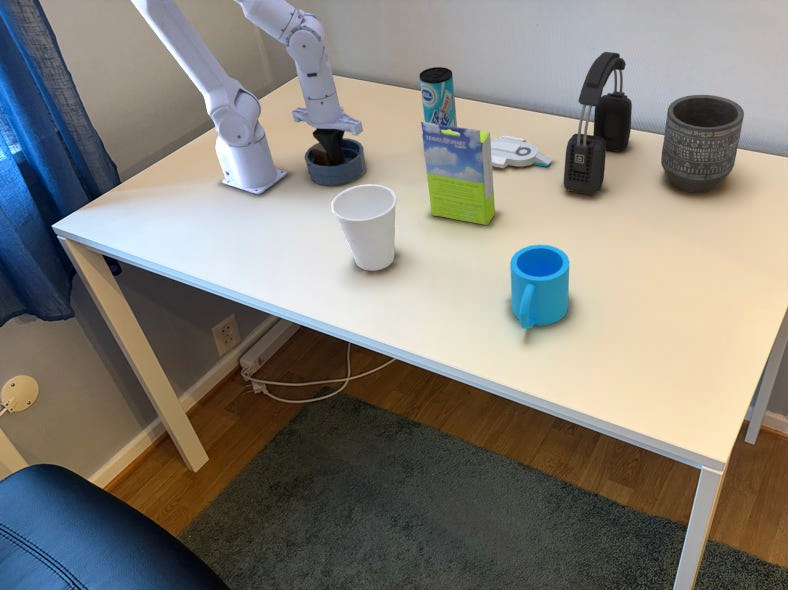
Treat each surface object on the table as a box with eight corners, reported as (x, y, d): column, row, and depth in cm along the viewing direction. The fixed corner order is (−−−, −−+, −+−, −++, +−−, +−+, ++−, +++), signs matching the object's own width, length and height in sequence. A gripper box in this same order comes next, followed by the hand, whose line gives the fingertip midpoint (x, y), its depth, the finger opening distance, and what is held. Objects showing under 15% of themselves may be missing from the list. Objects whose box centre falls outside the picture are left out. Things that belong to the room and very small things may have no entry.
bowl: (297, 179, 137) (292, 159, 134) (334, 152, 143) (329, 133, 140) (342, 192, 132) (338, 173, 129) (378, 164, 139) (374, 145, 136)
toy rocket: (460, 162, 137) (459, 151, 136) (484, 138, 143) (483, 127, 141) (538, 179, 131) (538, 167, 130) (559, 153, 137) (560, 142, 136)
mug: (522, 284, 111) (520, 240, 105) (574, 294, 108) (576, 249, 103) (495, 336, 103) (492, 292, 97) (551, 348, 101) (551, 303, 95)
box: (496, 213, 125) (491, 118, 112) (487, 227, 122) (481, 131, 110) (440, 203, 128) (429, 110, 115) (430, 216, 125) (417, 122, 113)
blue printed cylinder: (422, 152, 141) (412, 76, 130) (442, 139, 144) (434, 64, 133) (444, 161, 138) (436, 84, 127) (465, 148, 141) (459, 72, 130)
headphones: (594, 202, 125) (601, 89, 111) (559, 195, 127) (562, 83, 113) (632, 140, 139) (642, 33, 125) (600, 135, 141) (606, 29, 127)
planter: (724, 204, 122) (738, 133, 113) (651, 193, 126) (660, 123, 117) (735, 167, 130) (749, 98, 121) (666, 158, 134) (675, 90, 125)
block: (316, 167, 138) (311, 147, 135) (331, 159, 140) (327, 139, 137) (330, 172, 136) (325, 152, 133) (346, 163, 138) (341, 143, 135)
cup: (396, 282, 113) (386, 222, 105) (336, 277, 115) (321, 218, 107) (413, 244, 120) (404, 185, 112) (356, 240, 122) (343, 182, 114)
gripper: (366, 88, 125) (381, 160, 135) (303, 76, 131) (321, 145, 141) (341, 107, 121) (358, 179, 131) (276, 93, 127) (297, 163, 137)
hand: (337, 162), depth 136 cm, fingers closed, pressing on block
